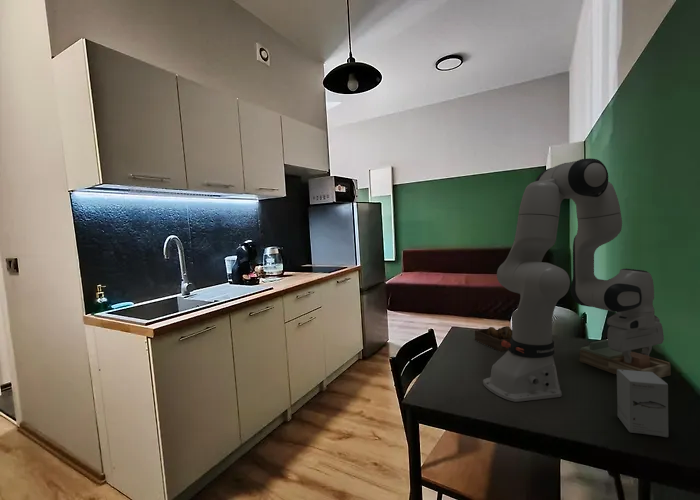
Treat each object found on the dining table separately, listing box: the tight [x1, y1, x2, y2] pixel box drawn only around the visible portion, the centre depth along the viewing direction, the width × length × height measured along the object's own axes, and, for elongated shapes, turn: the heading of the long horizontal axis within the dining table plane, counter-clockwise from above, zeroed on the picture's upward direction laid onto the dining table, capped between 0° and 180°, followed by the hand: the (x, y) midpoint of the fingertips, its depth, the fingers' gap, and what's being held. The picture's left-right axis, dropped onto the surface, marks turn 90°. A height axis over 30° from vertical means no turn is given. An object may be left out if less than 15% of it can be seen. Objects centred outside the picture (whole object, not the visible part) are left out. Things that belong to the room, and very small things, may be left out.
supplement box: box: [616, 369, 669, 438], centre depth 78 cm, size 7×7×13 cm
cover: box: [580, 338, 623, 359], centre depth 116 cm, size 10×10×3 cm
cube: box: [624, 351, 651, 369], centre depth 106 cm, size 4×4×5 cm
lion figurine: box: [487, 325, 512, 340], centre depth 139 cm, size 15×5×9 cm, turn 26°
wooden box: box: [579, 349, 672, 379], centre depth 111 cm, size 14×19×4 cm
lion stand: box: [474, 327, 512, 353], centre depth 140 cm, size 8×16×4 cm, turn 16°
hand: (636, 360), depth 106 cm, fingers open, 6 cm apart
